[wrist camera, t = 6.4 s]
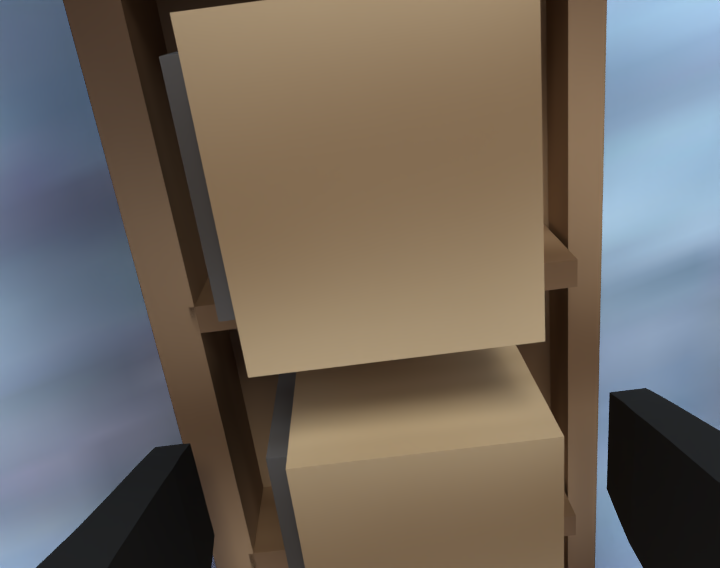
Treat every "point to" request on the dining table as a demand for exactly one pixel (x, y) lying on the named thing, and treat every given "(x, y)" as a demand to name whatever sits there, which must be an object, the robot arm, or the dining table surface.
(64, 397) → the dining table surface
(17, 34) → the dining table surface
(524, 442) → the tan rectangular block
